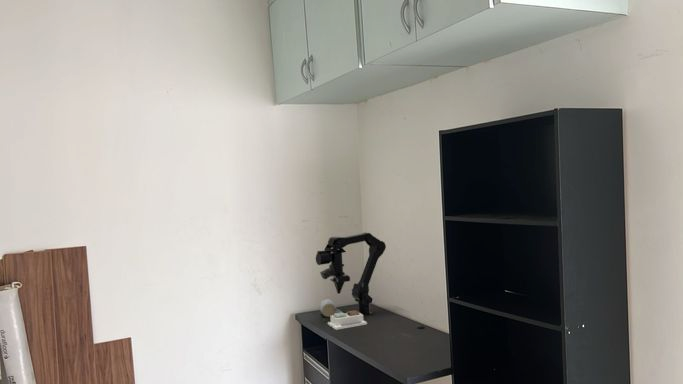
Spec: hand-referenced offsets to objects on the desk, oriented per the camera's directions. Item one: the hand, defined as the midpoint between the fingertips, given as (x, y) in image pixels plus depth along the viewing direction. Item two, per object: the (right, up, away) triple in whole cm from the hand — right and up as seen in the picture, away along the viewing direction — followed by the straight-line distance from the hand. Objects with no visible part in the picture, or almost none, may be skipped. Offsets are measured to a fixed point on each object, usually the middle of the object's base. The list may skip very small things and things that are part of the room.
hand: (338, 293), depth 273 cm
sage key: (+1, -11, -9) cm, 14 cm away
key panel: (+4, -13, -9) cm, 17 cm away
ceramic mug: (-4, -13, +10) cm, 17 cm away
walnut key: (+7, -11, -7) cm, 14 cm away
